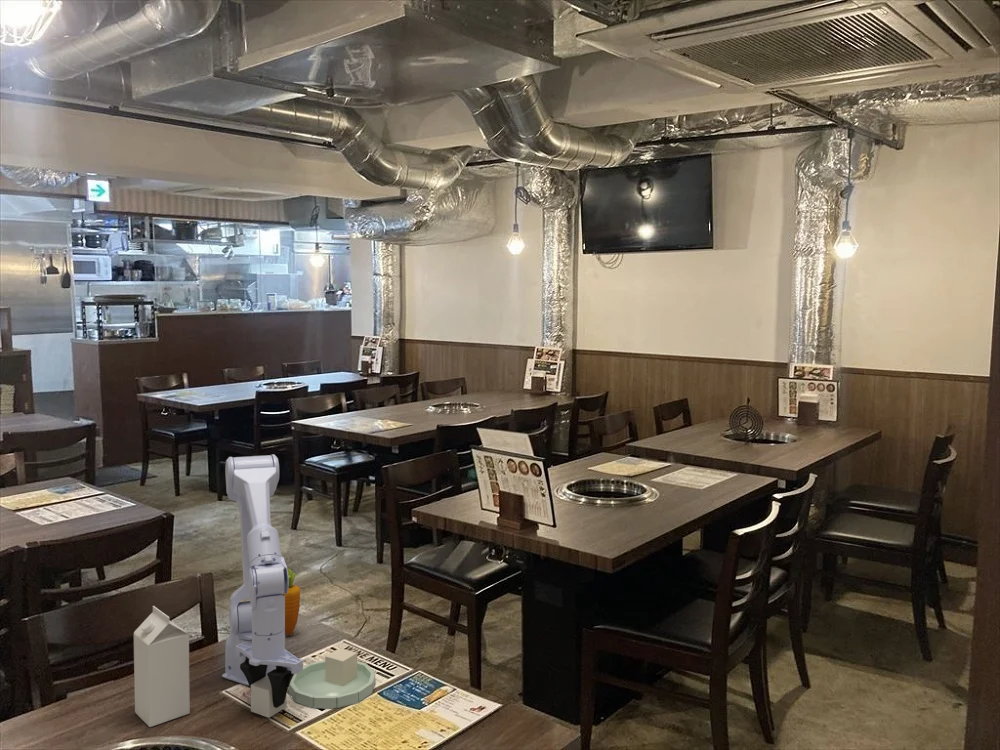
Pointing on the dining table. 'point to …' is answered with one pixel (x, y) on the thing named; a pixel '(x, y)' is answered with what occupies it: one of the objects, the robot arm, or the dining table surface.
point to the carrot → (291, 604)
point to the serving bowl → (330, 687)
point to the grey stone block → (263, 698)
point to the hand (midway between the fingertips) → (268, 701)
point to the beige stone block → (341, 667)
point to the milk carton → (161, 670)
